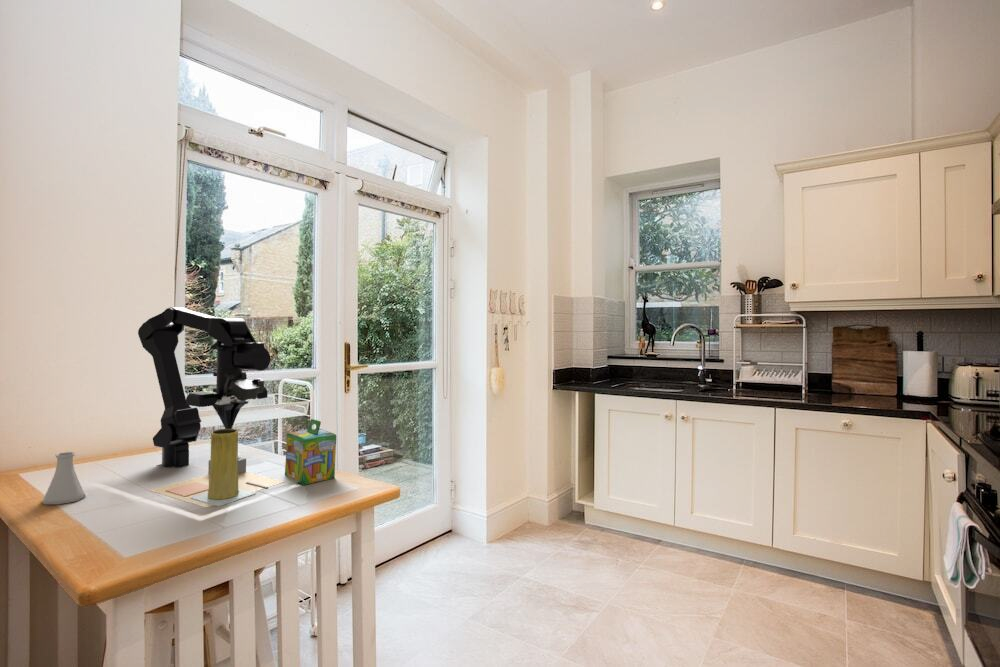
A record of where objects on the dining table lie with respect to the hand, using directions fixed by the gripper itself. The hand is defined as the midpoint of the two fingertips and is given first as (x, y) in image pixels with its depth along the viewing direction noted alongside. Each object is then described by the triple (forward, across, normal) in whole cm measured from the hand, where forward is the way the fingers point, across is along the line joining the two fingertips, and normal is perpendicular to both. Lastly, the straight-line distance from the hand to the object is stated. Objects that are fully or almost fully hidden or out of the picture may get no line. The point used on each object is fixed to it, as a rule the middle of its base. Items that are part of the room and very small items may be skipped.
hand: (228, 429), depth 128 cm
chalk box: (+12, +10, -18) cm, 24 cm away
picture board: (+12, -7, -7) cm, 16 cm away
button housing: (+11, 0, 0) cm, 11 cm away
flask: (+12, -28, +14) cm, 34 cm away
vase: (+11, -11, -14) cm, 21 cm away
